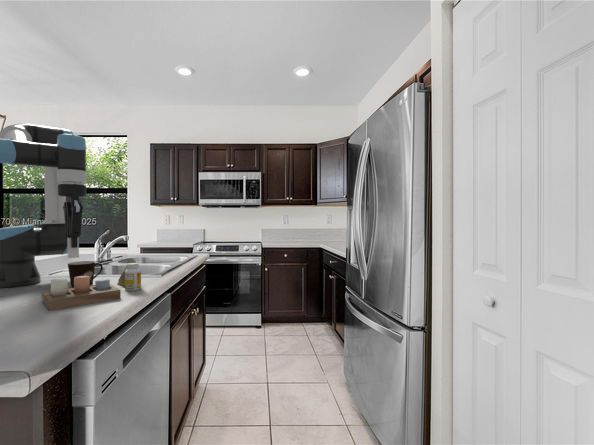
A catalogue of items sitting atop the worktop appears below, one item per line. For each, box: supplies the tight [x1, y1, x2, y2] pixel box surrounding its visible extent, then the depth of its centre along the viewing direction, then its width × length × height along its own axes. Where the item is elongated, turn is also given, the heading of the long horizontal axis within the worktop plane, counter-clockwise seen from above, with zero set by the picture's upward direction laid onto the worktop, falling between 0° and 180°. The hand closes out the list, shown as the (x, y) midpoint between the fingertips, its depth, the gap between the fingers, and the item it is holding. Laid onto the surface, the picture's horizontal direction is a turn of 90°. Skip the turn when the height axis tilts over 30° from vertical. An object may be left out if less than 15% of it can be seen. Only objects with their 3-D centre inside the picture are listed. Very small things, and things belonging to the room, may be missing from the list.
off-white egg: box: [50, 277, 69, 297], centre depth 102 cm, size 4×4×5 cm
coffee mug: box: [67, 260, 104, 288], centre depth 121 cm, size 12×9×10 cm
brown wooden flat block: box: [41, 283, 122, 311], centre depth 106 cm, size 14×19×3 cm
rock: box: [116, 259, 138, 287], centre depth 127 cm, size 11×9×10 cm
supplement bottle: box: [124, 262, 142, 292], centre depth 121 cm, size 5×5×10 cm
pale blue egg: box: [94, 278, 111, 291], centre depth 110 cm, size 4×4×5 cm
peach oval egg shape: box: [74, 276, 90, 294], centre depth 106 cm, size 4×4×5 cm
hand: (73, 257), depth 104 cm, fingers closed
